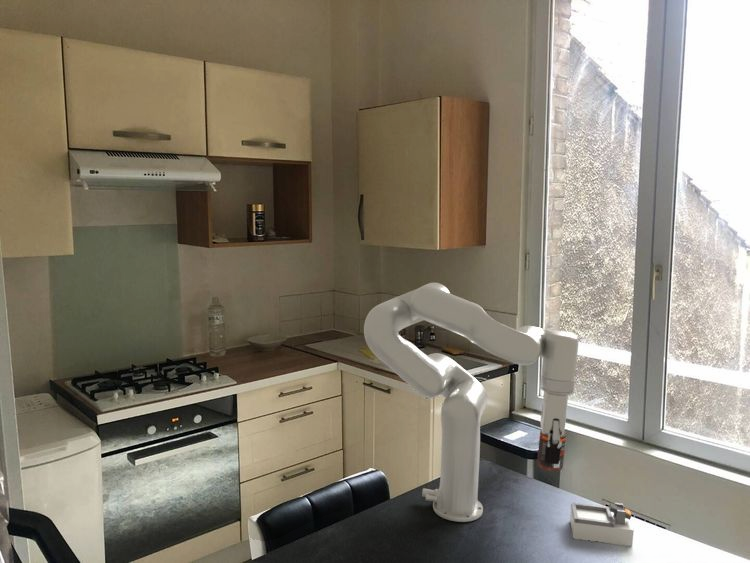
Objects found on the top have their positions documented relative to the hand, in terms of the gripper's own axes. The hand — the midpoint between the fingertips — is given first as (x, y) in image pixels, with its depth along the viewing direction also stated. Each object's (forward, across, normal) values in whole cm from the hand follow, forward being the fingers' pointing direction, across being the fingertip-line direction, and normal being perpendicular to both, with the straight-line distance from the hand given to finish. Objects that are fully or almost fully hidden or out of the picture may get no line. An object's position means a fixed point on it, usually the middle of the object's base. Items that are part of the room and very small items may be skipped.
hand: (550, 456), depth 146 cm
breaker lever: (+11, 0, +17) cm, 20 cm away
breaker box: (+18, 0, +13) cm, 22 cm away
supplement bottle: (+3, 0, 0) cm, 3 cm away
